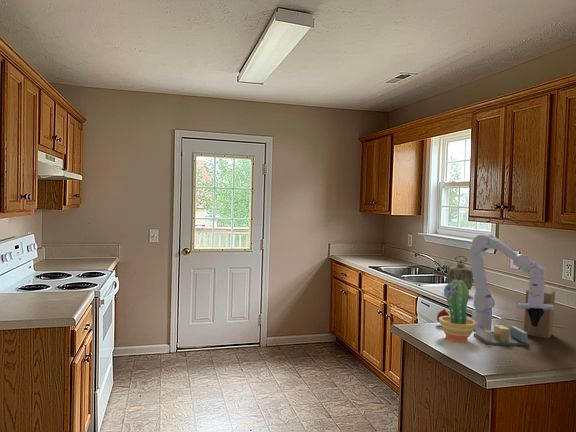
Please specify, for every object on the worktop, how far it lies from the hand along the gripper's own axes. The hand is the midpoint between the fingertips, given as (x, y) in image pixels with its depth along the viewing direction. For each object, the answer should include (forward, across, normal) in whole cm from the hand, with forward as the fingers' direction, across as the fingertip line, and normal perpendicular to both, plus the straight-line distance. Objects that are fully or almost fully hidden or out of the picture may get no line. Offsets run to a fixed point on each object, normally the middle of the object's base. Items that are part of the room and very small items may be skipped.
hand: (534, 325), depth 192 cm
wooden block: (+7, +9, +12) cm, 17 cm away
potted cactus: (+7, -33, +1) cm, 34 cm away
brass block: (+6, -14, 0) cm, 15 cm away
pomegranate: (+7, -31, +21) cm, 38 cm away
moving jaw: (+6, -7, 0) cm, 9 cm away
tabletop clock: (+7, +7, +97) cm, 98 cm away
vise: (+7, -14, 0) cm, 16 cm away
